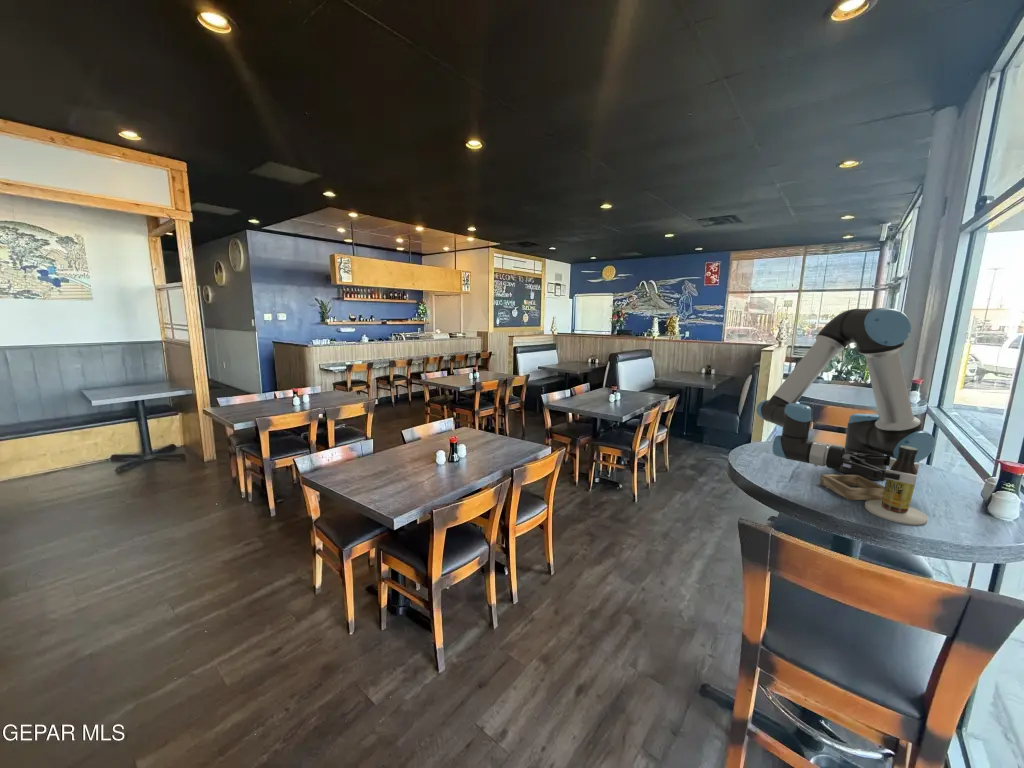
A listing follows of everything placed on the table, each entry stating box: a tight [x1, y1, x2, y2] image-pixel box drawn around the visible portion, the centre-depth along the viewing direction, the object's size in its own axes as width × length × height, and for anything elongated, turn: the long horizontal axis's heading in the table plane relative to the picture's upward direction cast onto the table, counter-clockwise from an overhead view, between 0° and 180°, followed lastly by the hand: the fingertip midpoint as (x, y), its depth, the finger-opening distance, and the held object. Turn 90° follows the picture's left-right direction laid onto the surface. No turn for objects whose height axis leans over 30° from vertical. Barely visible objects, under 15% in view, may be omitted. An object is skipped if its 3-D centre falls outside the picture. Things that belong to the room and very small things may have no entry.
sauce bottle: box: [882, 446, 918, 513], centre depth 124 cm, size 7×6×20 cm
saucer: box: [864, 500, 928, 526], centre depth 125 cm, size 14×14×1 cm
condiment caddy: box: [819, 473, 885, 501], centre depth 141 cm, size 13×13×4 cm
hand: (917, 474), depth 121 cm, fingers open, 13 cm apart
